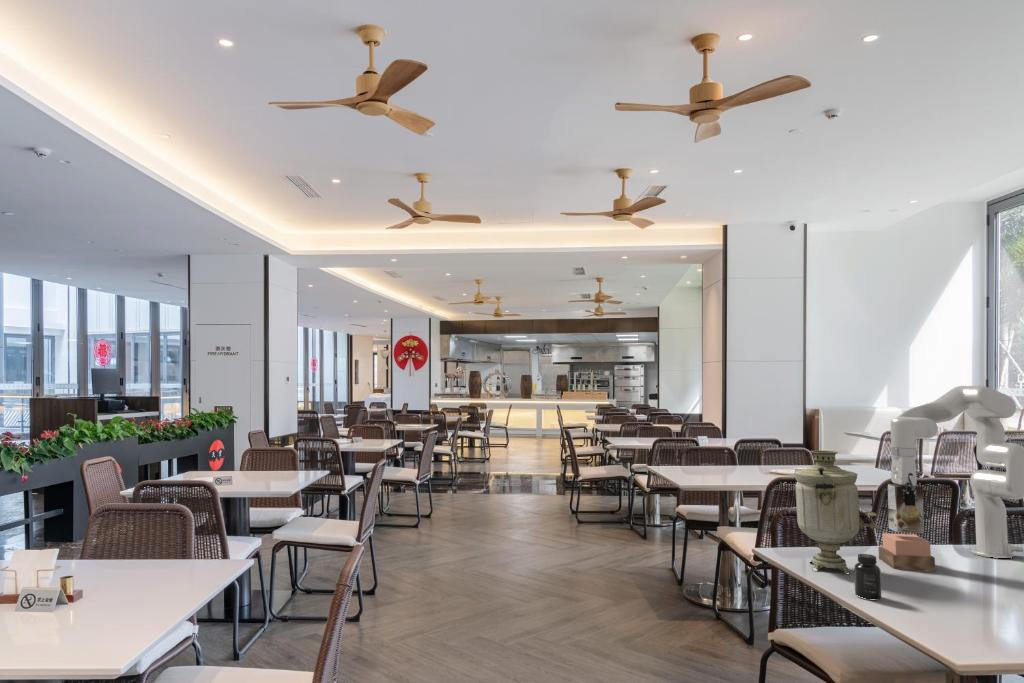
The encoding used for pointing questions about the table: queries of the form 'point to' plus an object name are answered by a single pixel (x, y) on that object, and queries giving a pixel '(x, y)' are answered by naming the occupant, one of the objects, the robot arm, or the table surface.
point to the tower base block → (906, 561)
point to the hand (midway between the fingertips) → (905, 503)
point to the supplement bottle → (867, 577)
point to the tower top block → (906, 545)
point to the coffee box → (905, 510)
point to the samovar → (828, 508)
